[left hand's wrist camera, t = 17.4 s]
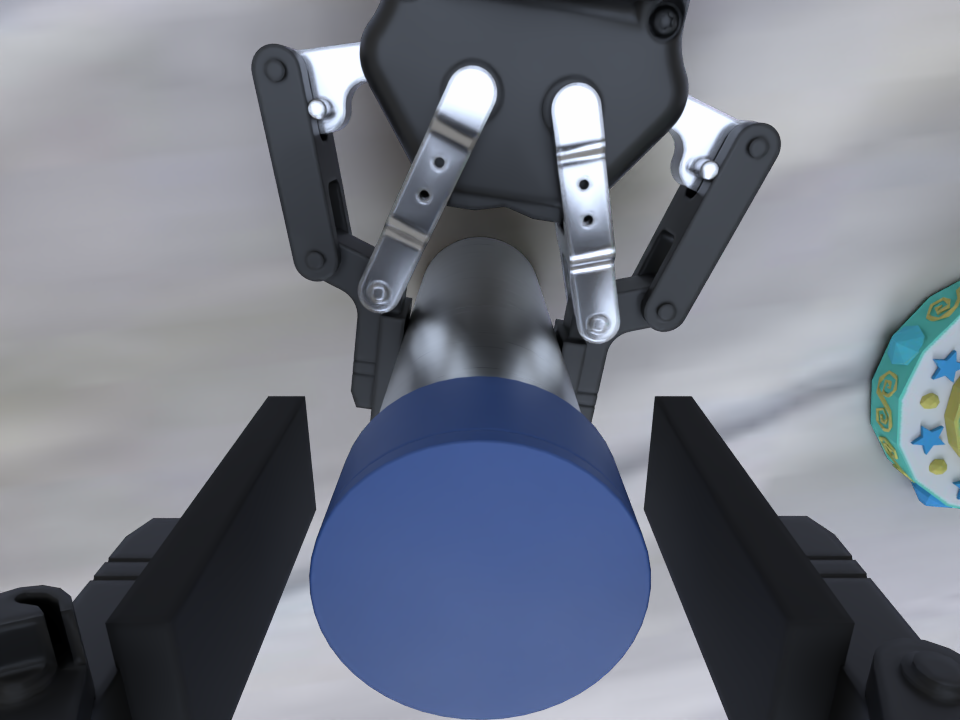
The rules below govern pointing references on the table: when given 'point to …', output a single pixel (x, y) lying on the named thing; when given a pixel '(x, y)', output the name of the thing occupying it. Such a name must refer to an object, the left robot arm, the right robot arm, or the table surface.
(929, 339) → the decorative hourglass
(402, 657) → the lid
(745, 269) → the table surface
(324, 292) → the table surface
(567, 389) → the grey metal cylinder
